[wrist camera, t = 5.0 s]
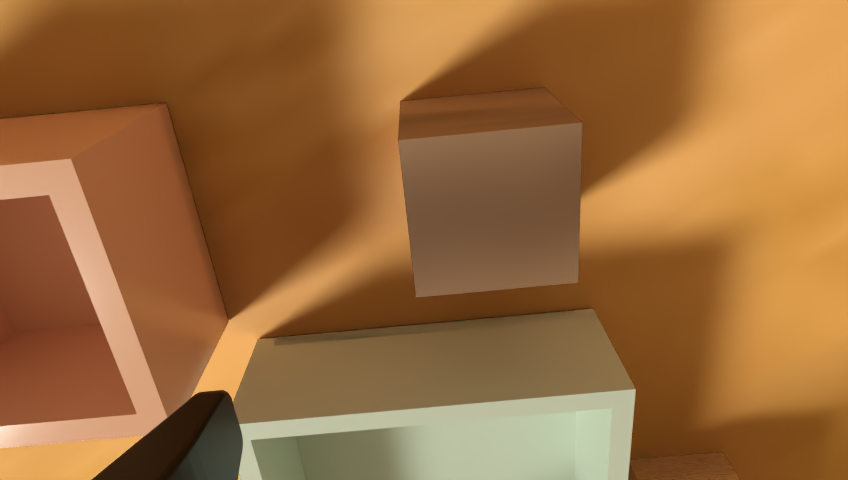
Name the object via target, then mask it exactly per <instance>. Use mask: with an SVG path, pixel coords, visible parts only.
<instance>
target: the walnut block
mask: <svg viewBox="0 0 848 480" xmlns="http://www.w3.org/2000/svg"><path fill="white" fill-rule="evenodd" d="M398 143H399V152H400V160H401V169H402V178H403V187H404V196H405V204H406V213H407V222H408V231H409V239H410V248H411V257H412V266H413V275H414V283H415V292H416V298H417V297H428V296H439V295H450V294H461V293H472V292H483V291H494V290H504V289H515V288H526V287H537V286H548V285H559V284H570V283H578V268H579V232H580V196H581V159H582V122H581V121H580V120H579V119H578V118H577V117H576V116H575V115H574V114H573V113H572V112H571V111H569V110H568V109H567V108H566V107H565V106H564V105H563V104H562V103H561V102H560V101H559V100H558V99H556V98H555V97H554V96H553V95H552V94H551V93H550V92H549V91H548V90H547V89H546V88H545V87H540V88H530V89H520V90H510V91H499V92H489V93H479V94H469V95H458V96H448V97H438V98H428V99H417V100H407V101H400V117H399V135H398Z"/></svg>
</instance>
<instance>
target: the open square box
mask: <svg viewBox="0 0 848 480" xmlns="http://www.w3.org/2000/svg"><path fill="white" fill-rule="evenodd" d="M228 322H229V321H228V317H227V314H226V310H225V307H224V303H223V300H222V296H221V293H220V289H219V286H218V282H217V279H216V275H215V272H214V268H213V265H212V261H211V258H210V254H209V251H208V247H207V244H206V240H205V237H204V233H203V230H202V226H201V223H200V219H199V216H198V212H197V209H196V205H195V202H194V198H193V195H192V191H191V188H190V184H189V181H188V177H187V174H186V170H185V167H184V163H183V160H182V156H181V153H180V149H179V146H178V142H177V139H176V135H175V132H174V128H173V125H172V121H171V118H170V114H169V111H168V107H167V104H166V103H156V104H146V105H136V106H126V107H116V108H106V109H96V110H86V111H75V112H65V113H55V114H45V115H35V116H25V117H15V118H5V119H0V448H10V447H21V446H32V445H44V444H55V443H66V442H78V441H89V440H100V439H112V438H123V437H134V436H145V435H147V434H148V433H149V432H150V431H151V430H153V429H154V428H155V427H156V426H158V425H159V424H160V423H161V422H162V421H164V420H165V419H166V418H167V417H168V416H170V415H171V414H172V413H173V412H175V411H176V410H177V409H178V408H179V407H181V406H182V405H183V404H184V403H185V402H187V401H188V400H189V399H190V398H191V396H192V394H193V392H194V390H195V388H196V386H197V384H198V382H199V380H200V378H201V376H202V374H203V372H204V370H205V368H206V366H207V364H208V362H209V360H210V358H211V356H212V354H213V352H214V350H215V348H216V346H217V344H218V342H219V340H220V338H221V336H222V334H223V332H224V330H225V328H226V326H227V324H228Z"/></svg>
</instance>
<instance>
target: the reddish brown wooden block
mask: <svg viewBox="0 0 848 480" xmlns="http://www.w3.org/2000/svg"><path fill="white" fill-rule="evenodd" d="M628 480H740V479H739V477H738V475H737V474H736V472H735V471H734V469H733V468H732V466H731V465H730V463H729V461H728V460H727V458H726V457H725V455H724V454H723V452H718V453H705V454H693V455H680V456H668V457H655V458H643V459H630V463H629V475H628Z"/></svg>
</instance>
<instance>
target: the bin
mask: <svg viewBox="0 0 848 480" xmlns="http://www.w3.org/2000/svg"><path fill="white" fill-rule="evenodd" d="M635 393H636V388H635V387H634V385H633V383H632V381H631V379H630V377H629V375H628V373H627V371H626V370H625V368H624V366H623V364H622V362H621V360H620V358H619V356H618V355H617V353H616V351H615V349H614V347H613V345H612V343H611V341H610V339H609V338H608V336H607V334H606V332H605V330H604V328H603V326H602V324H601V322H600V321H599V319H598V317H597V315H596V313H595V311H594V309H583V310H572V311H561V312H550V313H539V314H528V315H517V316H506V317H495V318H484V319H473V320H462V321H451V322H440V323H429V324H418V325H407V326H397V327H386V328H375V329H364V330H353V331H342V332H331V333H320V334H309V335H298V336H287V337H276V338H265V339H258V340H257V343H256V345H255V348H254V350H253V353H252V356H251V358H250V361H249V363H248V366H247V368H246V371H245V373H244V376H243V378H242V381H241V383H240V386H239V388H238V391H237V393H236V396H235V398H234V401H233V405H234V408H235V412H236V415H237V418H238V422H239V425H240V428H241V432H242V437H243V450H242V456H241V462H240V468H239V475H240V478H241V480H628V475H629V463H630V452H631V440H632V428H633V417H634V405H635Z"/></svg>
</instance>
